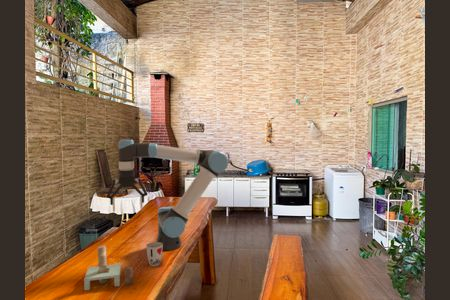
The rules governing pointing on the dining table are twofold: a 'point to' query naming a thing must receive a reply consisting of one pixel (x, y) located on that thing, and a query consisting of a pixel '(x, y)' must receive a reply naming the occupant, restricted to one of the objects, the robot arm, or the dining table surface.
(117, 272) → the bridge
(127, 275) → the short pin
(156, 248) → the cup
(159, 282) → the dining table surface
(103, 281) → the long pin
